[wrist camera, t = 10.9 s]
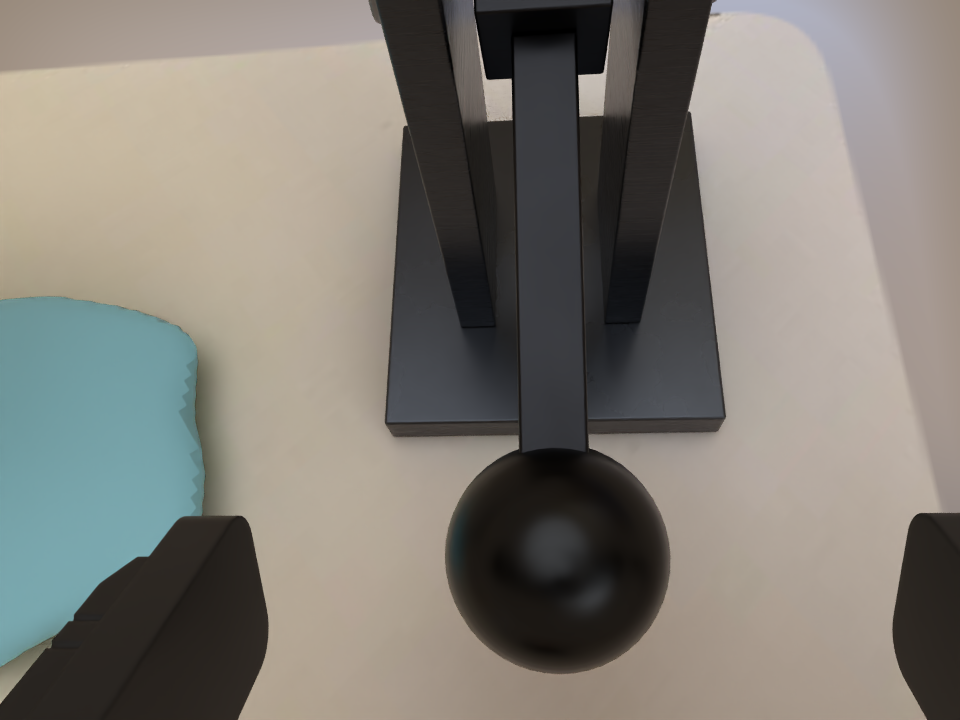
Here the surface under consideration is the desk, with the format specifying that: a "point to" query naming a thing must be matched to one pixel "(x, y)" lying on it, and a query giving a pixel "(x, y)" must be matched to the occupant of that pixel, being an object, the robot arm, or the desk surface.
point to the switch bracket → (605, 221)
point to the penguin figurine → (87, 453)
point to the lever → (553, 392)
